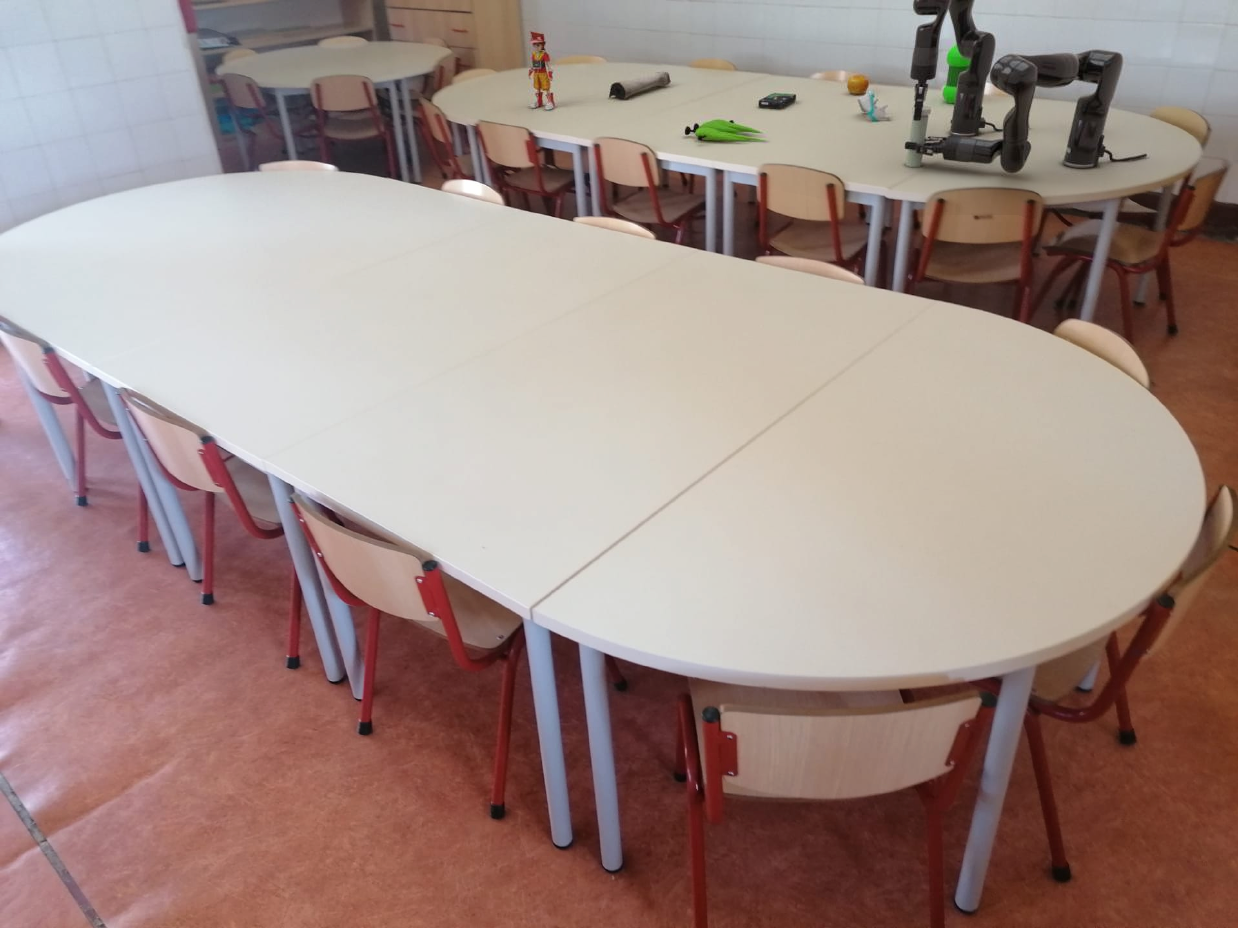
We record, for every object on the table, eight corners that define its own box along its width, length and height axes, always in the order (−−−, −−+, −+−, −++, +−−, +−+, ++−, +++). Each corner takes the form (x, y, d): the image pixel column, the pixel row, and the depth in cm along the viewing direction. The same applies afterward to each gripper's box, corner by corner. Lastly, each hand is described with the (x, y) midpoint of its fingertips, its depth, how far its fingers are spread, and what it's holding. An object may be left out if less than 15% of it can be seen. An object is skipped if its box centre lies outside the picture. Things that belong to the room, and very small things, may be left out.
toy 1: (525, 109, 381) (517, 32, 364) (534, 104, 388) (527, 28, 371) (550, 110, 377) (543, 32, 360) (559, 105, 384) (553, 28, 367)
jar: (903, 166, 292) (911, 112, 282) (909, 162, 295) (916, 108, 285) (918, 168, 289) (926, 113, 280) (923, 164, 293) (931, 110, 283)
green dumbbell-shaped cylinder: (973, 101, 354) (984, 32, 339) (955, 106, 349) (966, 36, 335) (952, 97, 361) (962, 29, 346) (934, 102, 356) (944, 33, 342)
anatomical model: (852, 90, 344) (878, 82, 343) (855, 117, 350) (880, 110, 349) (864, 99, 332) (891, 92, 331) (867, 127, 338) (893, 120, 337)
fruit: (842, 86, 371) (854, 68, 368) (844, 90, 378) (856, 72, 375) (859, 97, 369) (871, 79, 366) (861, 100, 377) (873, 83, 374)
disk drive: (781, 110, 359) (796, 101, 369) (782, 102, 357) (796, 94, 367) (757, 108, 364) (772, 99, 374) (758, 100, 362) (773, 92, 372)
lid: (909, 114, 282) (910, 109, 281) (915, 110, 286) (915, 105, 285) (927, 116, 280) (927, 111, 279) (932, 112, 284) (933, 106, 283)
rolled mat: (651, 76, 408) (662, 61, 399) (662, 93, 408) (674, 79, 400) (605, 92, 391) (616, 77, 383) (617, 110, 391) (628, 95, 383)
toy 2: (674, 139, 326) (748, 154, 314) (675, 124, 324) (750, 138, 311) (708, 126, 347) (780, 140, 334) (710, 113, 344) (782, 125, 331)
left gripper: (913, 57, 281) (906, 111, 291) (910, 67, 270) (903, 123, 280) (938, 57, 279) (931, 111, 289) (936, 67, 268) (929, 123, 278)
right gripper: (970, 131, 284) (917, 125, 292) (956, 142, 274) (901, 136, 283) (966, 155, 288) (914, 149, 297) (952, 167, 279) (898, 160, 287)
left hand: (917, 117), depth 284 cm, fingers open, 8 cm apart
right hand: (908, 143), depth 290 cm, fingers closed on jar, 4 cm apart
